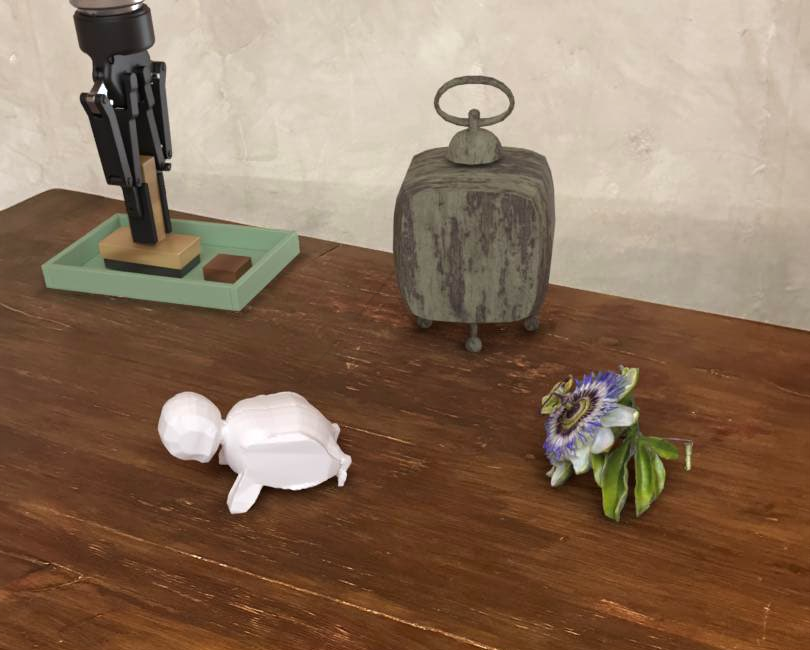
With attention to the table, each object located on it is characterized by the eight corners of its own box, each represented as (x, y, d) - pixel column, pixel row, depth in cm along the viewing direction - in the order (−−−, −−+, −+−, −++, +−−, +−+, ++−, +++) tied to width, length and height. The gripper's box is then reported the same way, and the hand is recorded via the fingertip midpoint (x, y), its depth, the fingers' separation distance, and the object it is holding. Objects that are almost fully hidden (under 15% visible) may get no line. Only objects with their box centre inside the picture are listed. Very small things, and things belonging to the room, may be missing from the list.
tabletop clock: (551, 324, 113) (561, 62, 98) (547, 367, 106) (557, 92, 91) (408, 320, 115) (397, 63, 100) (395, 363, 108) (380, 93, 93)
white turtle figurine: (316, 474, 98) (143, 446, 93) (344, 390, 94) (165, 355, 88) (334, 530, 92) (149, 504, 86) (365, 442, 87) (173, 408, 82)
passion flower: (555, 531, 94) (519, 392, 94) (682, 498, 94) (646, 358, 93) (571, 538, 83) (530, 380, 82) (715, 500, 83) (675, 341, 82)
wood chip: (204, 280, 123) (201, 267, 122) (220, 265, 126) (218, 253, 125) (236, 284, 122) (235, 271, 121) (252, 269, 125) (251, 256, 124)
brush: (102, 268, 126) (82, 161, 119) (125, 251, 130) (107, 146, 122) (182, 280, 123) (166, 171, 116) (203, 262, 127) (189, 155, 120)
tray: (47, 293, 124) (40, 265, 122) (121, 239, 135) (116, 212, 133) (240, 317, 117) (236, 288, 115) (300, 258, 129) (297, 230, 127)
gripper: (101, 26, 103) (147, 268, 117) (182, -11, 115) (215, 213, 129) (32, 23, 105) (85, 261, 119) (118, -13, 117) (157, 208, 131)
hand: (152, 236), depth 124 cm, fingers closed on brush, 2 cm apart
